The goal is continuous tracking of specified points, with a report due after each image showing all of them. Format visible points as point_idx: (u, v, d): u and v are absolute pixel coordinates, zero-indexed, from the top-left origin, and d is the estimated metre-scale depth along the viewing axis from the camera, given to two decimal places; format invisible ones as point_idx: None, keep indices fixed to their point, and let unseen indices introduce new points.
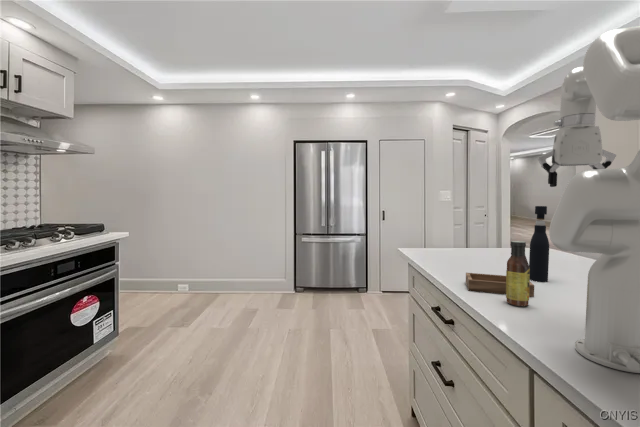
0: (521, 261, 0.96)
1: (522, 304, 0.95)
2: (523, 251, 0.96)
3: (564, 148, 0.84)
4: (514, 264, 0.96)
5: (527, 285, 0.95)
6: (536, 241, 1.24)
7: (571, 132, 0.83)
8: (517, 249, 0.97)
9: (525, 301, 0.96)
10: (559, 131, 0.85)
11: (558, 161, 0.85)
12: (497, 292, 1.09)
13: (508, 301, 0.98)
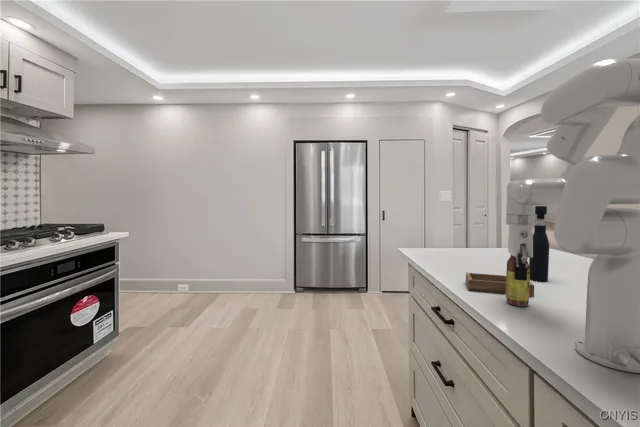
0: None
1: (522, 304, 0.95)
2: None
3: None
4: (514, 265, 0.96)
5: (527, 285, 0.95)
6: (536, 241, 1.24)
7: None
8: None
9: (525, 301, 0.95)
10: (529, 228, 0.93)
11: (532, 256, 0.93)
12: (497, 292, 1.09)
13: (508, 301, 0.98)
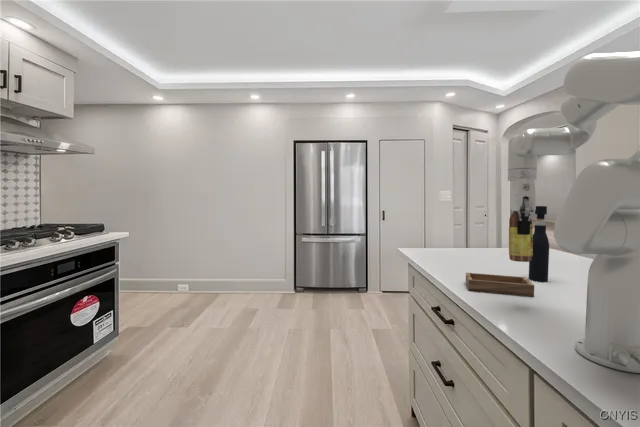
0: None
1: (525, 259, 0.94)
2: None
3: (534, 197, 0.92)
4: (516, 220, 0.95)
5: (530, 240, 0.94)
6: (536, 241, 1.24)
7: None
8: None
9: (529, 256, 0.94)
10: (532, 181, 0.92)
11: (535, 209, 0.91)
12: (497, 292, 1.09)
13: (511, 258, 0.97)
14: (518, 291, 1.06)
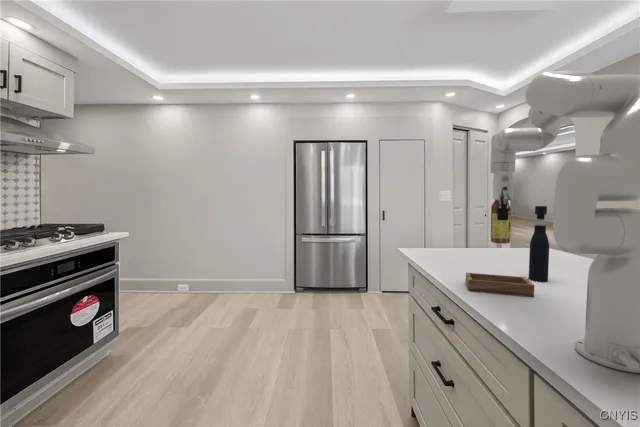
0: None
1: (504, 241, 1.08)
2: None
3: (512, 187, 1.06)
4: (497, 207, 1.09)
5: (508, 224, 1.08)
6: (536, 241, 1.24)
7: None
8: None
9: (507, 238, 1.08)
10: (510, 173, 1.06)
11: (512, 198, 1.06)
12: (497, 292, 1.09)
13: (492, 240, 1.11)
14: (518, 291, 1.06)
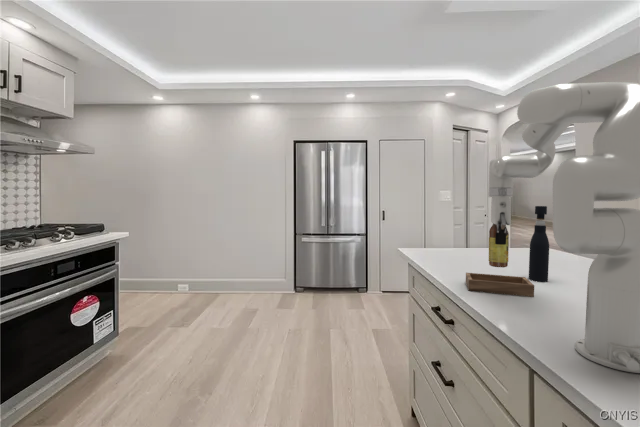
0: None
1: (502, 265, 1.10)
2: None
3: None
4: (495, 231, 1.11)
5: (506, 249, 1.10)
6: (536, 241, 1.24)
7: None
8: None
9: (505, 262, 1.10)
10: (508, 199, 1.07)
11: (510, 223, 1.07)
12: (497, 292, 1.09)
13: (490, 264, 1.13)
14: (518, 291, 1.06)
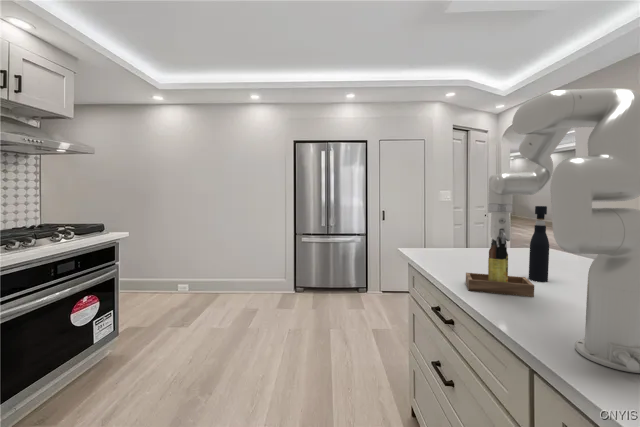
0: None
1: None
2: None
3: (509, 228, 1.08)
4: (494, 252, 1.11)
5: (506, 270, 1.10)
6: (536, 241, 1.24)
7: None
8: None
9: None
10: (507, 215, 1.08)
11: (509, 239, 1.07)
12: (497, 292, 1.09)
13: None
14: (518, 291, 1.06)
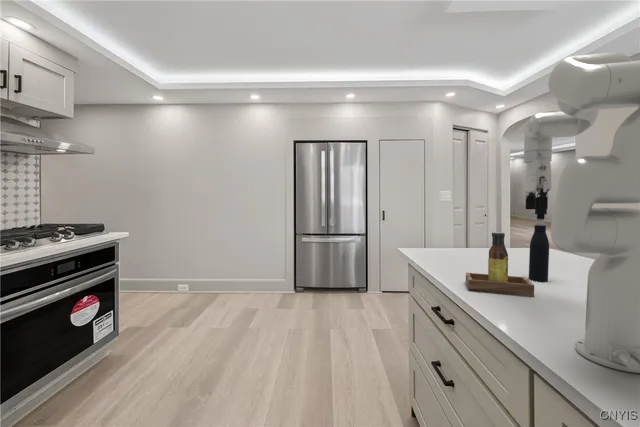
0: (500, 249, 1.11)
1: None
2: (502, 241, 1.11)
3: None
4: (494, 252, 1.11)
5: (506, 270, 1.10)
6: (536, 241, 1.24)
7: None
8: (497, 239, 1.12)
9: None
10: (548, 162, 0.98)
11: (550, 188, 0.97)
12: (497, 292, 1.09)
13: None
14: (518, 291, 1.06)
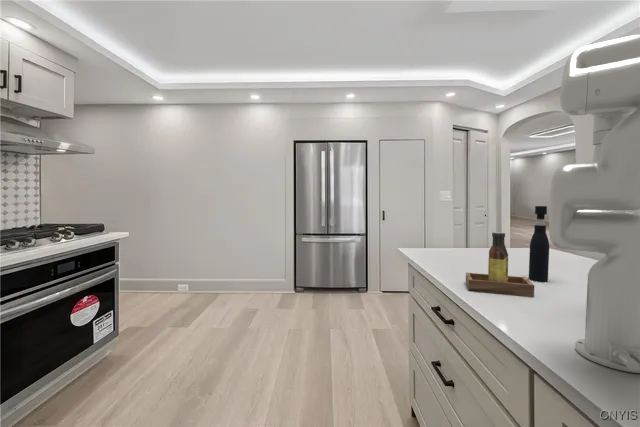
0: (501, 249, 1.10)
1: None
2: (502, 241, 1.11)
3: None
4: (494, 252, 1.11)
5: (506, 270, 1.10)
6: (536, 241, 1.24)
7: None
8: (497, 239, 1.11)
9: None
10: None
11: None
12: (497, 292, 1.09)
13: None
14: (518, 291, 1.06)
